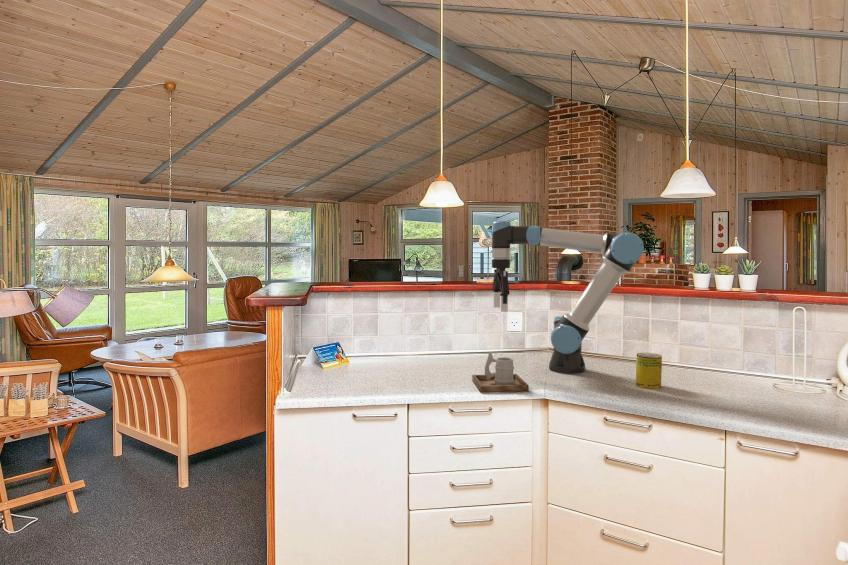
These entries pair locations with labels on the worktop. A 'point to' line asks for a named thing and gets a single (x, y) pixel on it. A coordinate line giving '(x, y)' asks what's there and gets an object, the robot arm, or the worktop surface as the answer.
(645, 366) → the yellow tin can
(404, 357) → the worktop surface
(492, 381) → the tray
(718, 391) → the worktop surface
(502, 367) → the mug
